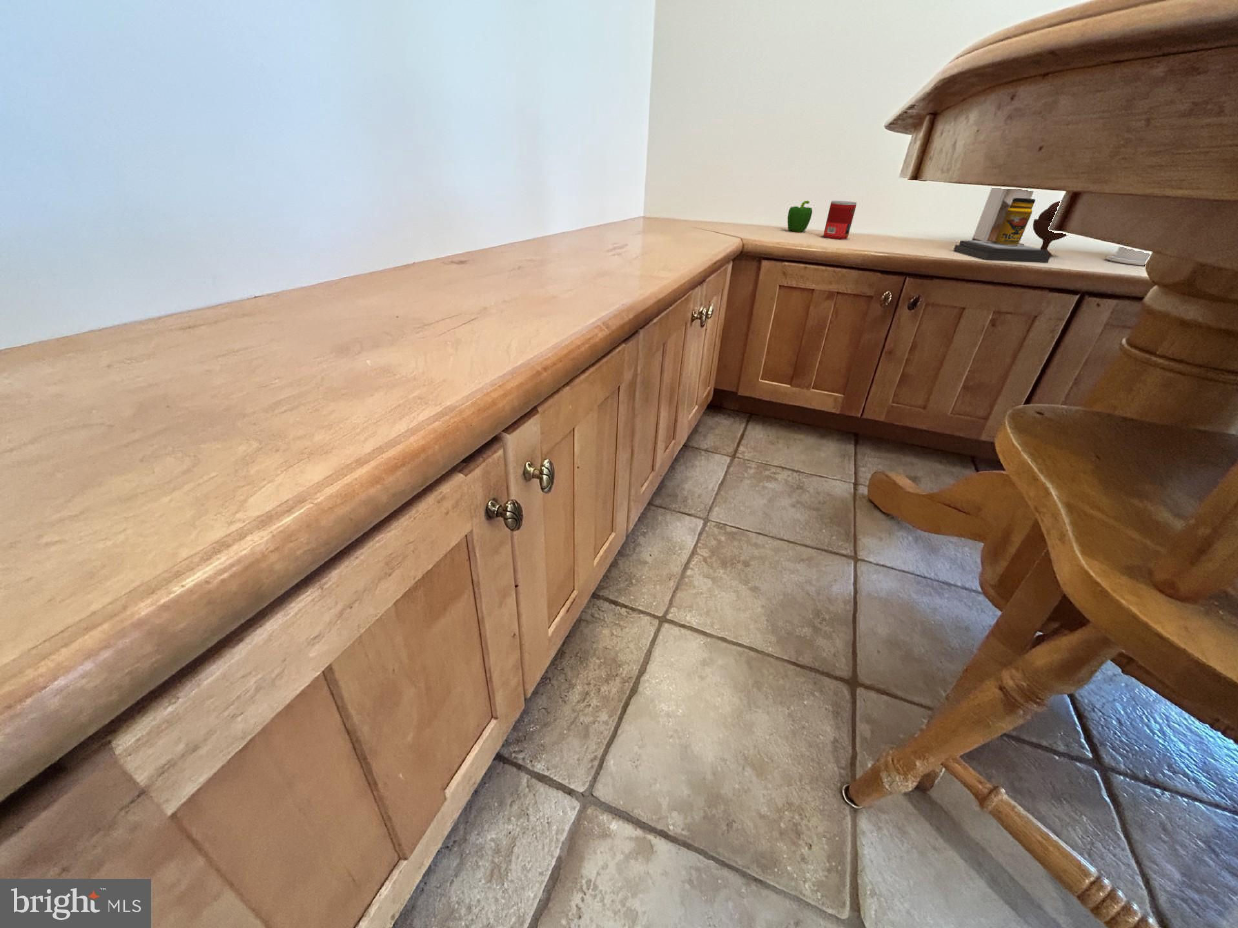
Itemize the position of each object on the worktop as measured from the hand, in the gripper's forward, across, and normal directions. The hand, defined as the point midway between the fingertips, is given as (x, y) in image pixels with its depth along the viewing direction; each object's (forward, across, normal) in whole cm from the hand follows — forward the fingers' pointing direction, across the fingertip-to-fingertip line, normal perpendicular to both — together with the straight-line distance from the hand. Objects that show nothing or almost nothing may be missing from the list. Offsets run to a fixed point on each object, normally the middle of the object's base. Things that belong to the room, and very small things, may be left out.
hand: (1036, 169), depth 136 cm
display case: (+23, +20, -11) cm, 32 cm away
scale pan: (+20, 0, +1) cm, 20 cm away
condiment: (+19, +1, +1) cm, 19 cm away
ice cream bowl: (+23, +7, -17) cm, 29 cm away
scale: (+22, 0, +1) cm, 22 cm away
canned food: (+22, +27, +40) cm, 53 cm away
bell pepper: (+22, +41, +49) cm, 68 cm away
